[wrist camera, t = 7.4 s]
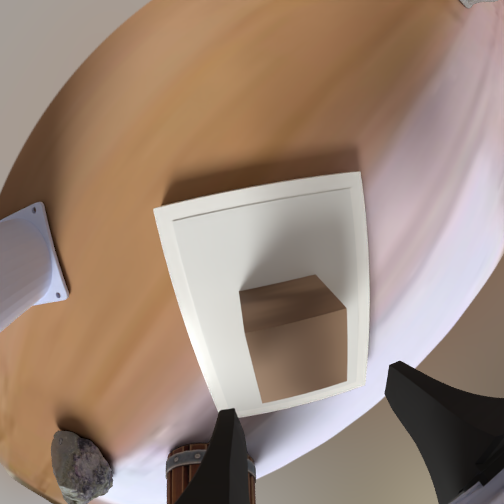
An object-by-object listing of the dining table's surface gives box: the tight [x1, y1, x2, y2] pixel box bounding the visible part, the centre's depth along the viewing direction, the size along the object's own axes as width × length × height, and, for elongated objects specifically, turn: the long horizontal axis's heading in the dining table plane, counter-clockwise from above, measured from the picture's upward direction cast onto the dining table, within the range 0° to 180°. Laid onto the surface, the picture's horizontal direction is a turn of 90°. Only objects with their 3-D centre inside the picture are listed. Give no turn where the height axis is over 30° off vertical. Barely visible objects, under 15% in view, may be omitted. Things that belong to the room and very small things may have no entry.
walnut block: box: [239, 274, 348, 404], centre depth 15 cm, size 5×5×5 cm
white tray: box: [153, 171, 370, 418], centre depth 19 cm, size 13×18×2 cm
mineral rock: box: [51, 431, 113, 504], centre depth 19 cm, size 13×11×10 cm
